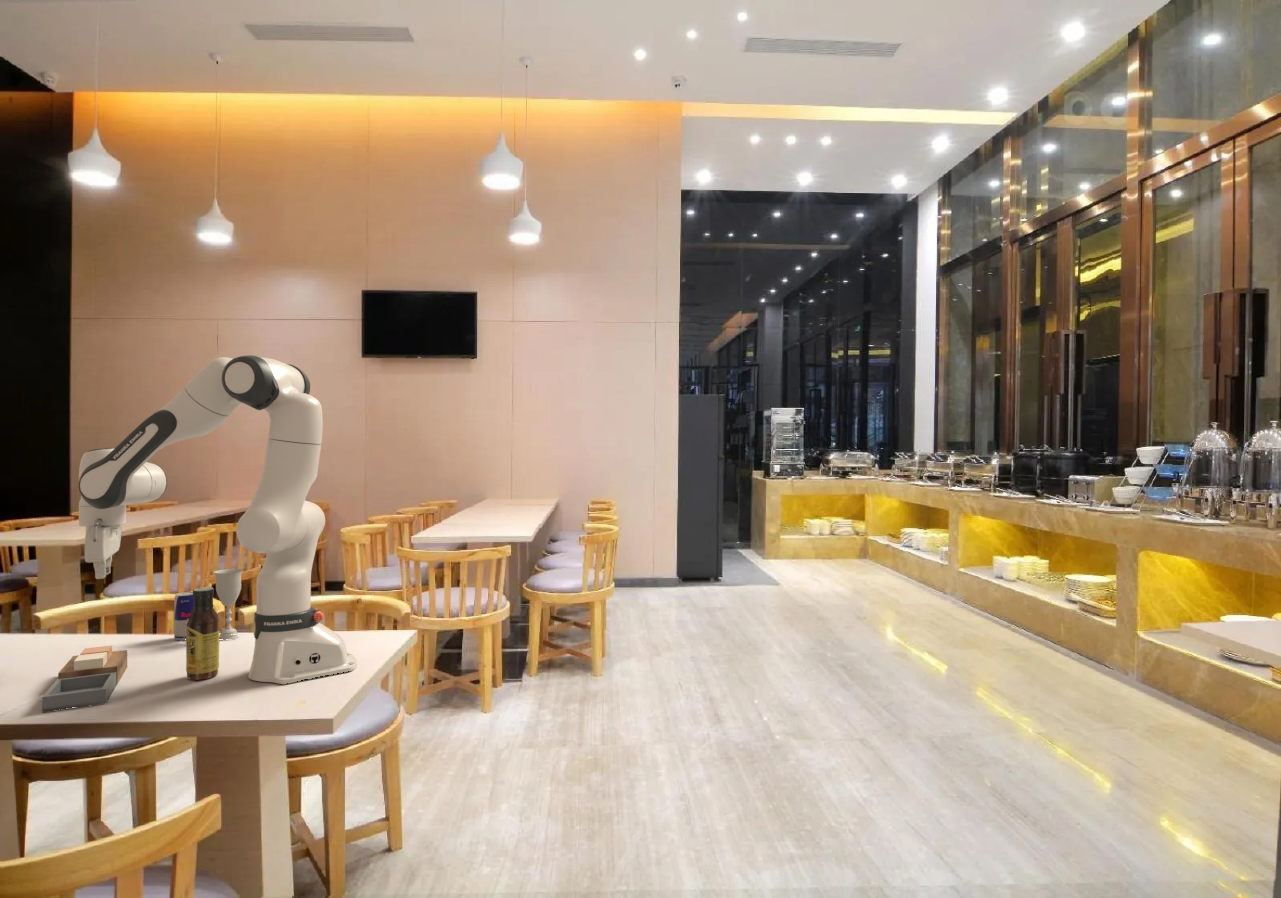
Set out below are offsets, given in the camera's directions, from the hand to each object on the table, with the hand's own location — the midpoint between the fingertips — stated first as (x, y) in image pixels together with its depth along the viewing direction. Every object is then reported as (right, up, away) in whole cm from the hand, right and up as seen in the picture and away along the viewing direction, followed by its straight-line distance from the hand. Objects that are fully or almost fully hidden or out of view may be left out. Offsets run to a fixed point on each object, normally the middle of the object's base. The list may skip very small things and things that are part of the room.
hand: (102, 576), depth 166 cm
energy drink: (+4, -21, +25) cm, 33 cm away
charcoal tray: (+11, -21, -21) cm, 32 cm away
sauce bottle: (+28, -21, -8) cm, 36 cm away
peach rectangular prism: (+4, -17, -7) cm, 19 cm away
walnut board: (+5, -21, -9) cm, 23 cm away
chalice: (+15, -21, +25) cm, 36 cm away
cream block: (+7, -17, -12) cm, 22 cm away
